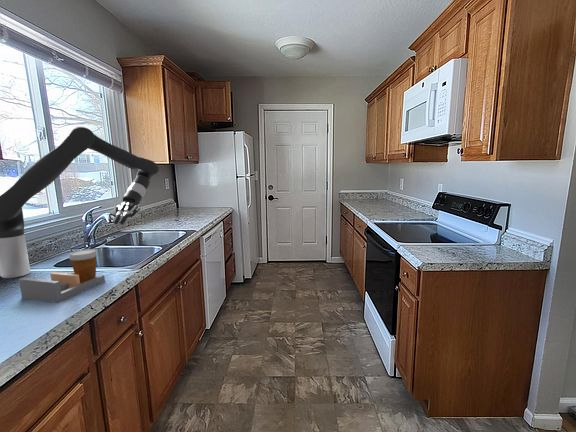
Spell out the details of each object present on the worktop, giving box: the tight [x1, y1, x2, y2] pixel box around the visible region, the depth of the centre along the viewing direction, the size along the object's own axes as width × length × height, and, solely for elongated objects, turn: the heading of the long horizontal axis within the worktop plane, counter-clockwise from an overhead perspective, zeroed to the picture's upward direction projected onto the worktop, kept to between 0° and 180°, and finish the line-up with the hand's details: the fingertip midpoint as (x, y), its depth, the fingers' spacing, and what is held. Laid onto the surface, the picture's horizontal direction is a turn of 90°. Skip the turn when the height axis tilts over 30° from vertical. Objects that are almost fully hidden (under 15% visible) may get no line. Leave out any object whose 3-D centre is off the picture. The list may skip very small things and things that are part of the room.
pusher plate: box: [49, 272, 81, 292], centre depth 111 cm, size 12×3×6 cm, turn 76°
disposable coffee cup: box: [68, 248, 98, 284], centre depth 120 cm, size 10×10×12 cm
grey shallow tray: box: [18, 271, 106, 303], centre depth 112 cm, size 16×20×7 cm
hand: (117, 223), depth 136 cm, fingers open, 2 cm apart
